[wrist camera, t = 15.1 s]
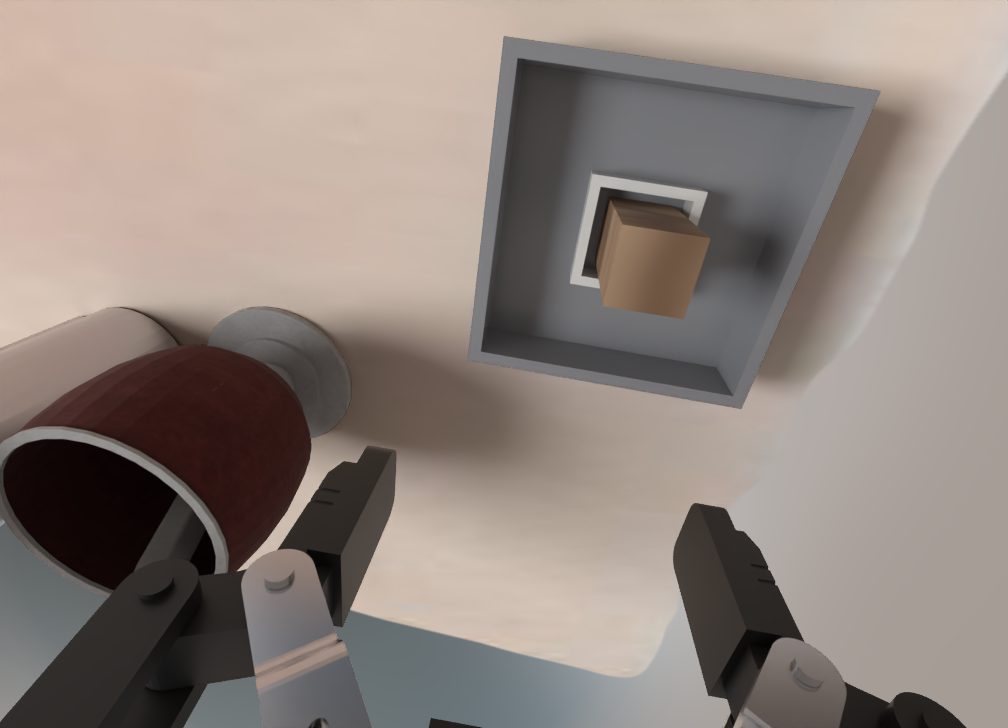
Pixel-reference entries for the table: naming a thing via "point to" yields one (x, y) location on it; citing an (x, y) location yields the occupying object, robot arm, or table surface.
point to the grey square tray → (658, 179)
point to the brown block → (648, 257)
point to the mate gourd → (175, 452)
